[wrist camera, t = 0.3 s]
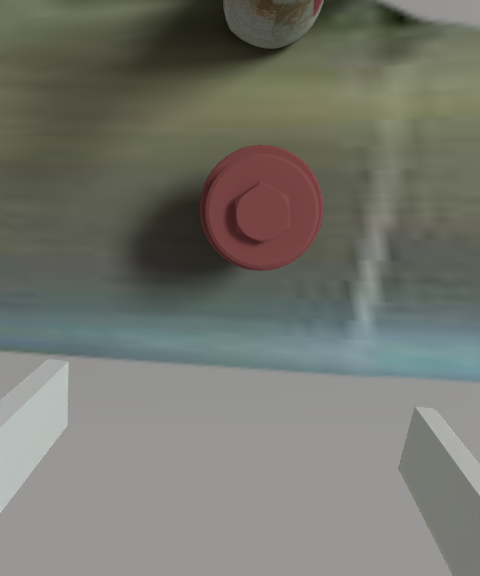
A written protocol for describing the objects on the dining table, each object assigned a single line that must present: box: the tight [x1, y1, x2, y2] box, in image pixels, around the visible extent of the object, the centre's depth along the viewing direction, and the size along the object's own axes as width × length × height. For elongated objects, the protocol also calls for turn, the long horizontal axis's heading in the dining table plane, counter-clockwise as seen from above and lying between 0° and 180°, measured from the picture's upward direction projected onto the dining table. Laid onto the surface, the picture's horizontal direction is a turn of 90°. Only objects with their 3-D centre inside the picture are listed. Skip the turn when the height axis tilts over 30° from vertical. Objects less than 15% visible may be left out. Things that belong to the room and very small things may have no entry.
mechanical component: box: [200, 145, 323, 271], centre depth 34 cm, size 12×10×10 cm
